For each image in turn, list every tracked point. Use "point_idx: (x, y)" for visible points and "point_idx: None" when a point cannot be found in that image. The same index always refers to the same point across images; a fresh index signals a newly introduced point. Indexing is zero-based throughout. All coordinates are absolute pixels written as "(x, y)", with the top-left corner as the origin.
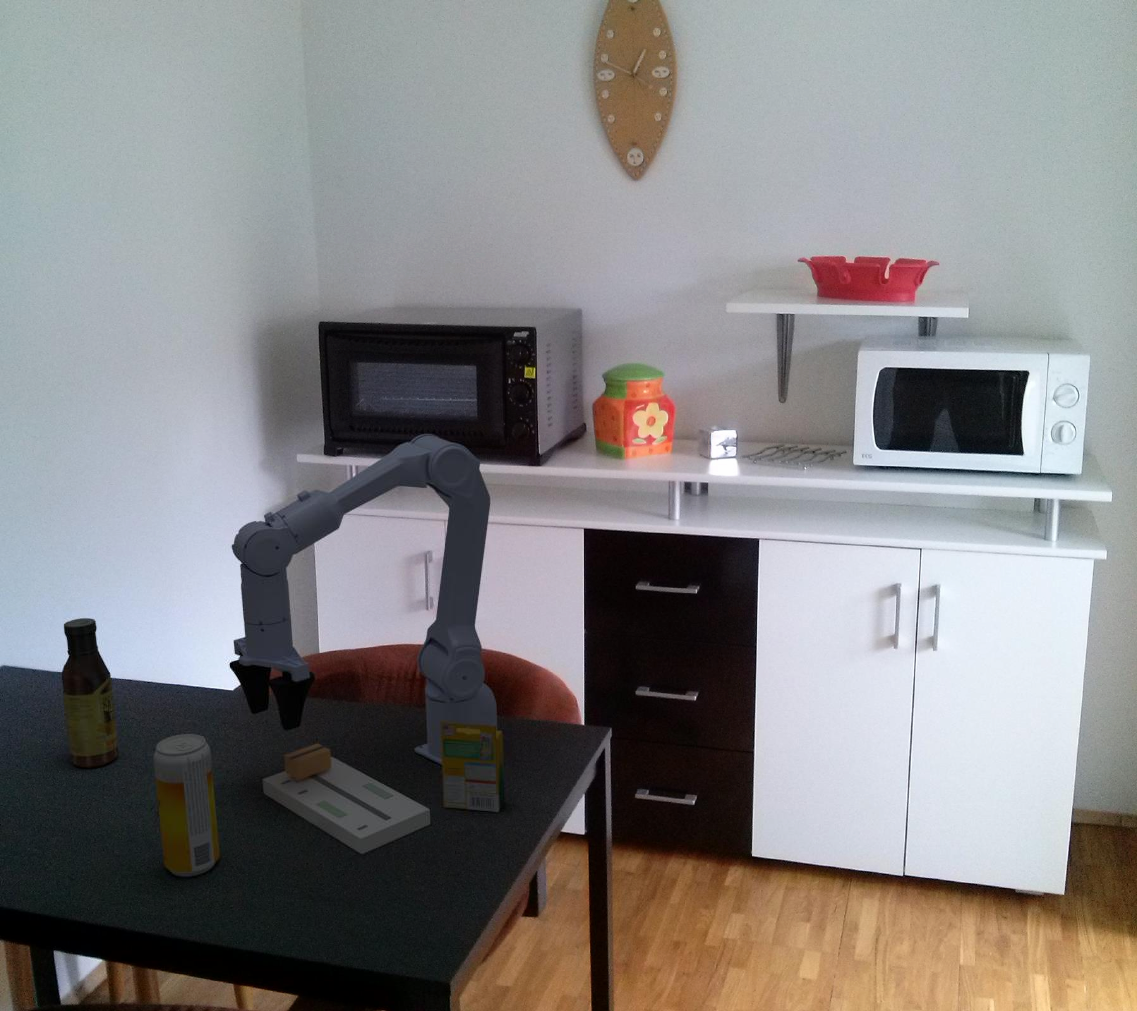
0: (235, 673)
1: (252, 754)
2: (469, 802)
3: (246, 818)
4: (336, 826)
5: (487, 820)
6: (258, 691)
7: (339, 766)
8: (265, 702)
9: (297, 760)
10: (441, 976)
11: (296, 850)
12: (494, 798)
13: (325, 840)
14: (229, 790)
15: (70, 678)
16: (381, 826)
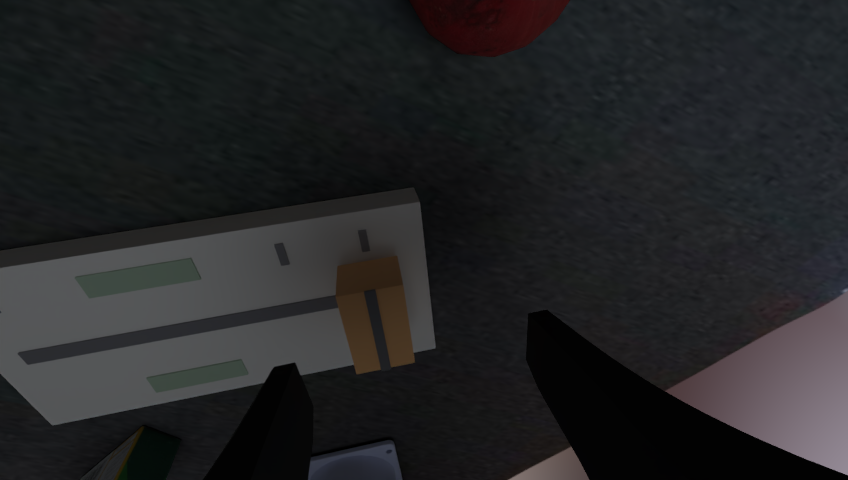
0: (771, 460)
1: (603, 233)
2: (102, 466)
3: (307, 99)
4: (45, 257)
5: (56, 460)
6: (579, 415)
7: None
8: (540, 381)
9: (345, 301)
10: None
11: (37, 136)
12: None
13: (76, 216)
14: (487, 126)
15: None
16: None
